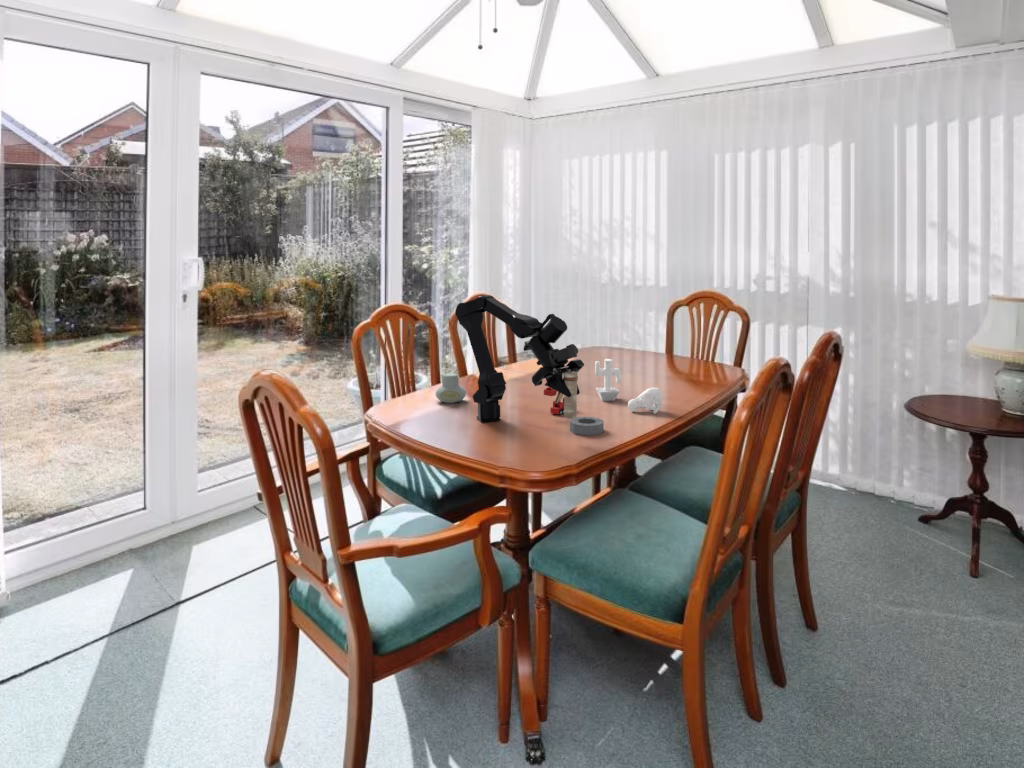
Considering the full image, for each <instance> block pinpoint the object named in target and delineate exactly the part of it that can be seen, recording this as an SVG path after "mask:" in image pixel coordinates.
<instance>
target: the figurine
mask: <svg viewBox="0 0 1024 768" xmlns="http://www.w3.org/2000/svg"><path fill="white" fill-rule="evenodd" d="M603 362H604V367H603V368H601V362H600V360H596V361H595V363H594V373H595V376H597V377H603V379H604V381H603V383H604V384H603V387H595V389H596V390H595V391H596V392H597V394H598V397H599V399H600V400H601V401H602V402H615V400H616V398H617V397H618V395H619V394H620V390H618V389H617V388H616V387H614V386H613V387H612V377H614V376H615V382H616V383H618V384H619V383H621V382H622V381H621V379H622V377H621V374H622V372H621V369H620V368H619V367H614V368H613V367H612V366H613V359H611V358H604V361H603Z"/></svg>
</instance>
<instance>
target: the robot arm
mask: <svg viewBox="0 0 1024 768" xmlns="http://www.w3.org/2000/svg"><path fill="white" fill-rule="evenodd" d="M486 312H487V313H488V314H490V315H492V316H493V317H495V318H497V319H498V320H500V321H501V322H503V323H504V324H506V325H507V326H508V327H509V329H510V331H511V332H512V333H513V334H514V335H515V336H516V337H517V338H518V339H528V338H530V339H529V340H528V341H527V340H526V341H524V344H523V352H526V351H531V352H532V353H533V356H535V358H536V360H537V361H536V365H537V366H541V367H540V368H538V369H537V371H536V372H535V373H534V374H533V375H531V382H532V383H533V386H535V387H538V386H541V385H542V384H543V380H544V379H545V381H546V383H544V386H545V387H550V388H552V389H554V390H556V391H558V392H560V393H562V394H564V395H565V396H567V397H571V396H572V395H571V393H570V391H569V389H568V387H567V386H566V384H565V380H564V376H565V372H577V373H578V372H580V371H581V369H583V367H585V364H584V362H583V360H582V359H579V358H577V357H578V353H579V348H578V347H577V345H575V344H574V343H571V344H569V345H566V347H563V348H561V349H559V348H554V347H553V346H552V344H555V343H556V342H557V341H558V340H559V339H560V338H561V337H562V336H563V334H565V332H567V330H568V325H567V322H566V321H565V320H563V319H561V318H560V317H558V316H556V315H555V313H550V314H548V315H547V316H546V317H545V319H544V320H543V322H540V321H539V319H538V318H536V317H533V316H531V315H527V314H522V313H519V312H517V311H515V310H514V309H512V308H511V307H508V306H507V305H506V304H504V303H503V302H500V301H499V300H497V299H496V298H495V297H494V296H493V295H490V294H489V295H488V294H487V295H480V296H478V297H476V298H474V299H472V300H469V301H466V302H459V303H458V304H457V306H456V308H455V310H454V313H455V316H456V318H457V321H458V323H459V324H460V326H461V327H462V328H463V329H464V330H465V331H466V334H467V336H468V340H469V342H470V346H471V349H472V353H473V356H474V358H475V363H476V365H477V366H476V367H477V369H478V373H479V375H478V379H477V384H478V385H477V386H478V389H477V390H476V391H475V393H474V394H473V395H472V399H473V402H474V403H477V415H476V419H477V420H479V421H480V423H486V422H487V423H488V422H500V421H501V405H500V404H499V401H502V400H503V397H504V394H505V391H506V389H507V387H506V386H507V382H506V380H505V377H504V373H503V371H499V372H498V371H497V370H496V369H495V366H494V363H493V359H492V356H491V354H490V350H489V347H488V343H487V340H486V337H485V334H484V330H483V327H482V325H483V321H484V313H486ZM572 358H577V359H573V360H570V359H572ZM569 360H570V361H569ZM558 392H557V393H558ZM580 394H581V393H580V388H579V386H578V384H577V396H579V395H580ZM564 395H563V396H564Z"/></svg>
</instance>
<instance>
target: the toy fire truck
mask: <svg viewBox="0 0 1024 768" xmlns="http://www.w3.org/2000/svg"><path fill="white" fill-rule="evenodd" d="M543 396H547V397H554V396H556V397H555V400H552V406H551V407H550V410H549V411H550V414H554V415H562V414H564V394H562V393H560V392H558V391H556V390H554V389H552V388H550V387H548V386H546V388H544V390H543ZM561 400H562V401H561Z"/></svg>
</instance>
